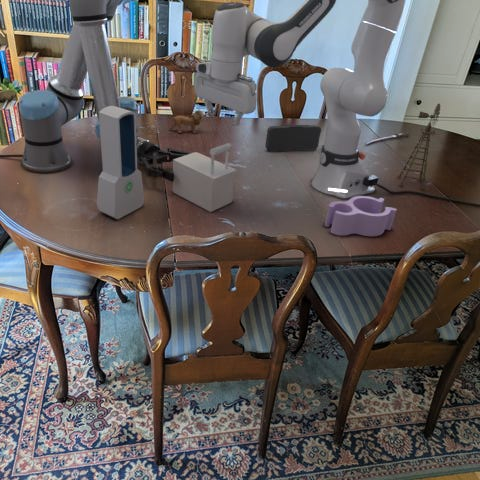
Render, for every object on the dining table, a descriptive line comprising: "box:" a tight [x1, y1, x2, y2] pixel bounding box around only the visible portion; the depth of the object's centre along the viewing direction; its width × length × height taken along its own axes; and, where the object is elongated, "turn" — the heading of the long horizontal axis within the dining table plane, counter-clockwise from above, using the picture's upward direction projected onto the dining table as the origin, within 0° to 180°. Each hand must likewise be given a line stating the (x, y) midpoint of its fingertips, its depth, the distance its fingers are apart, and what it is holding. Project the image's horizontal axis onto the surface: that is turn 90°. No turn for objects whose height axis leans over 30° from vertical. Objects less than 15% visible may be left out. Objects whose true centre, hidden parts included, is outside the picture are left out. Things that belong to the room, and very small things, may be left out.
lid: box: [172, 142, 237, 183], centre depth 142 cm, size 18×10×9 cm, turn 50°
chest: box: [172, 162, 236, 213], centre depth 147 cm, size 17×10×10 cm, turn 50°
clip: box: [324, 195, 398, 237], centre depth 141 cm, size 20×12×7 cm, turn 109°
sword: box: [366, 133, 410, 146], centre depth 213 cm, size 31×3×1 cm, turn 126°
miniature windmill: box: [398, 102, 441, 191], centre depth 166 cm, size 9×8×30 cm
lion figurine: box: [168, 109, 204, 134], centre depth 195 cm, size 15×5×9 cm, turn 110°
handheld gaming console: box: [264, 124, 322, 152], centre depth 189 cm, size 23×3×10 cm, turn 108°
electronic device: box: [96, 106, 145, 220], centre depth 130 cm, size 12×8×30 cm, turn 148°
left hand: (188, 171), depth 150 cm, fingers open, 13 cm apart
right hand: (222, 120), depth 132 cm, fingers open, 8 cm apart
